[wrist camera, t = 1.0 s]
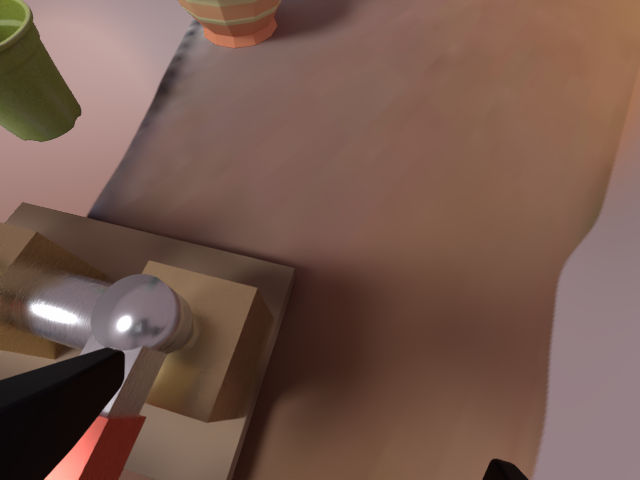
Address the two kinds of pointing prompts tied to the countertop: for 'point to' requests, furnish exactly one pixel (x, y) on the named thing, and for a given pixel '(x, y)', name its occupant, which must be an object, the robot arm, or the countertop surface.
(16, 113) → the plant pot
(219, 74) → the countertop surface
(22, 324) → the pipe manifold
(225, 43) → the potted cactus
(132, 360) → the valve lever
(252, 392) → the beige flat board
